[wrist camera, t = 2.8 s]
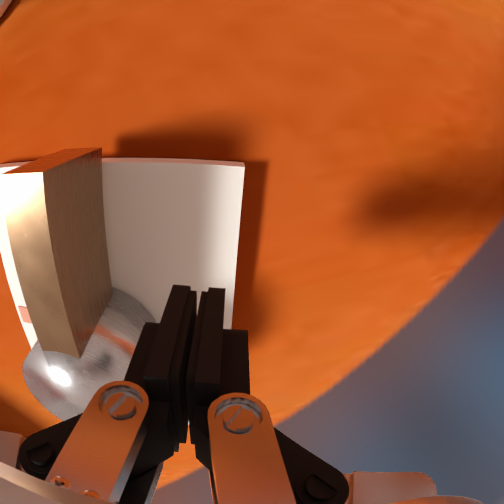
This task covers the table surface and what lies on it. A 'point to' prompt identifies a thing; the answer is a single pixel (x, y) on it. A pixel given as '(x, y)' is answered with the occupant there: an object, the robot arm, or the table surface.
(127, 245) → the base
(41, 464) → the robot arm
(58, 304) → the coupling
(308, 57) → the table surface
